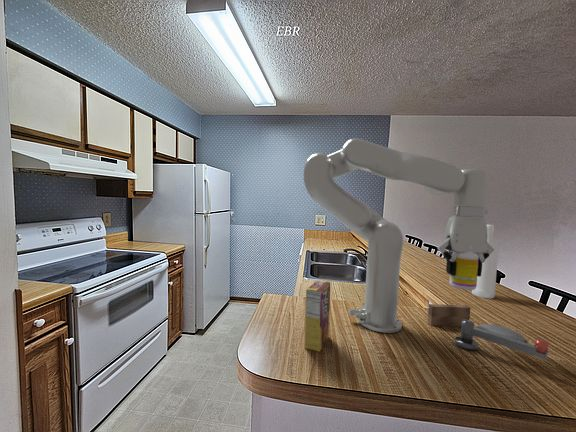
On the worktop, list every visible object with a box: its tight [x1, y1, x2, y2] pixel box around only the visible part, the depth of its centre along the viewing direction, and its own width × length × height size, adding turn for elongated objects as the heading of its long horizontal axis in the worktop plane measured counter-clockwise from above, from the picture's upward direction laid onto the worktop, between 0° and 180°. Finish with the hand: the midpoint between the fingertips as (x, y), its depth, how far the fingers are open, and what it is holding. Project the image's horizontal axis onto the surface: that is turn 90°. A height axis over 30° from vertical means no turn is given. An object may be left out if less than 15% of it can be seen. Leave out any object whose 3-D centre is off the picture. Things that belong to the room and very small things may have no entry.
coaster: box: [477, 323, 526, 343], centre depth 81 cm, size 11×11×1 cm
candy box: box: [304, 280, 331, 353], centre depth 72 cm, size 9×4×15 cm, turn 156°
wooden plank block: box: [427, 303, 471, 327], centre depth 86 cm, size 12×2×6 cm, turn 92°
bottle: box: [471, 224, 499, 300], centre depth 116 cm, size 8×8×30 cm
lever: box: [454, 319, 550, 360], centre depth 69 cm, size 18×5×7 cm, turn 43°
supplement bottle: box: [448, 246, 479, 291], centre depth 79 cm, size 7×7×13 cm
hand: (463, 274), depth 80 cm, fingers closed on supplement bottle, 6 cm apart
